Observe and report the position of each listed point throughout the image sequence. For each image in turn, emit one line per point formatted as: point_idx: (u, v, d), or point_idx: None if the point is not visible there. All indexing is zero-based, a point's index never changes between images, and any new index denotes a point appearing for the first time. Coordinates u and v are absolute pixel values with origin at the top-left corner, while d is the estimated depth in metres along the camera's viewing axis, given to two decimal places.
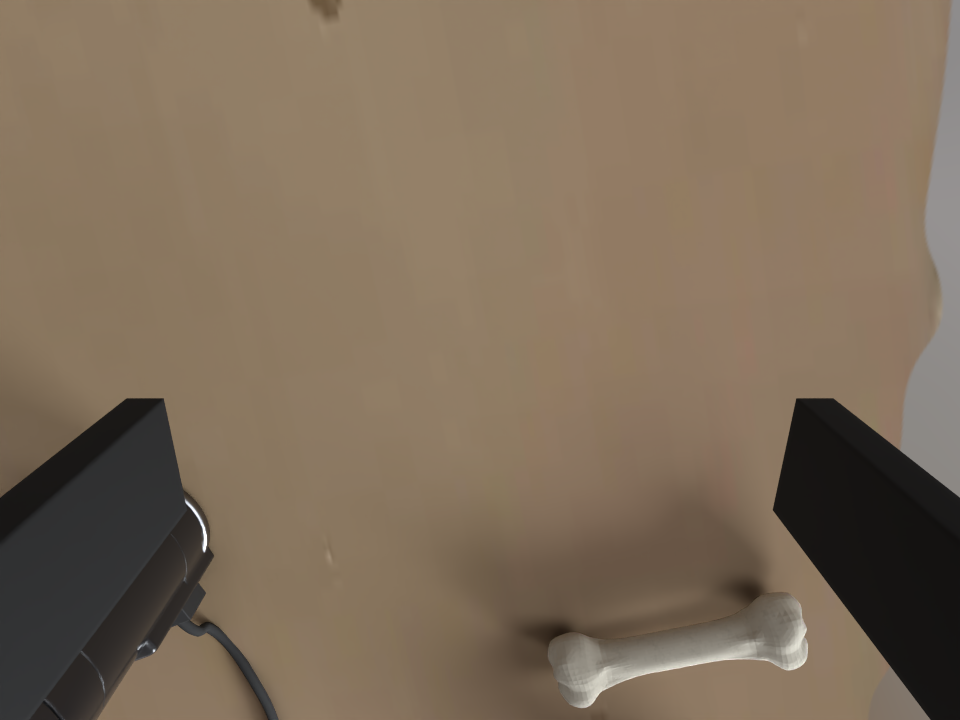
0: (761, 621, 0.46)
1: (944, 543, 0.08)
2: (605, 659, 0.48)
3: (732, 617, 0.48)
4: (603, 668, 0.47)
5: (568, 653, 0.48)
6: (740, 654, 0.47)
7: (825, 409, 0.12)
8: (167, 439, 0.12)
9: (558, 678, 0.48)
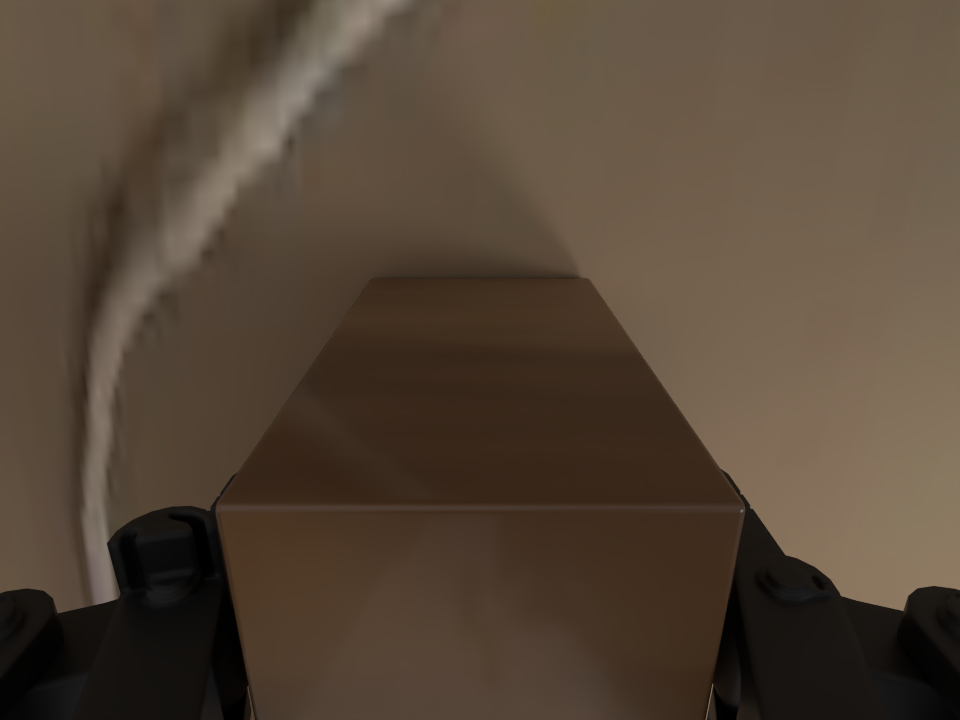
0: None
1: None
2: None
3: None
4: None
5: None
6: None
7: None
8: None
9: None
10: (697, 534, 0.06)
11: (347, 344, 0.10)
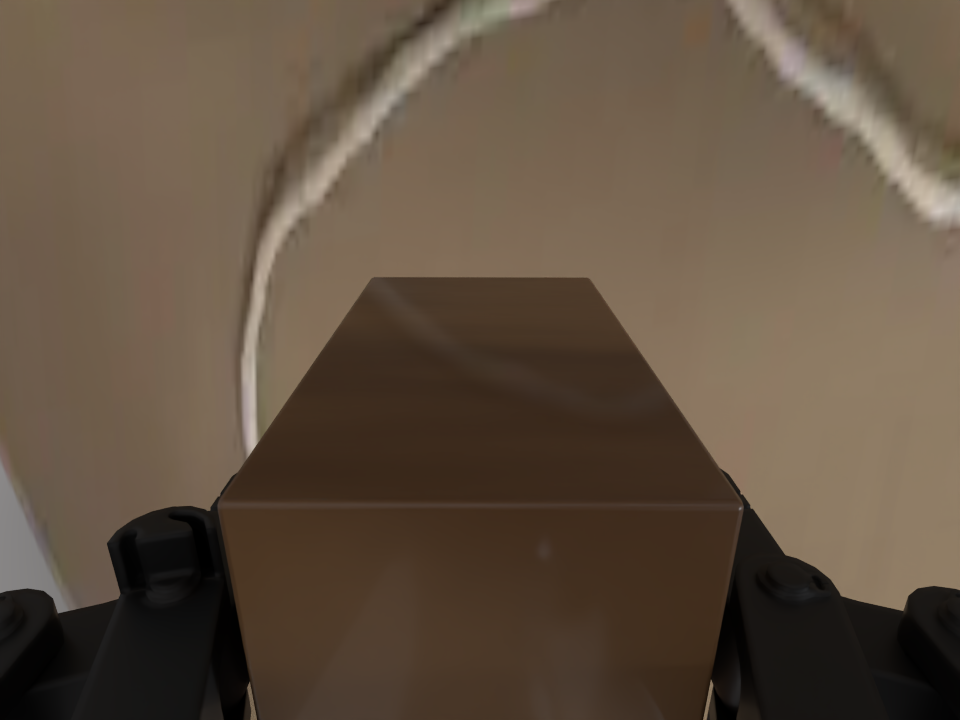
0: None
1: None
2: None
3: None
4: None
5: None
6: None
7: None
8: None
9: None
10: (697, 531, 0.06)
11: (348, 342, 0.10)
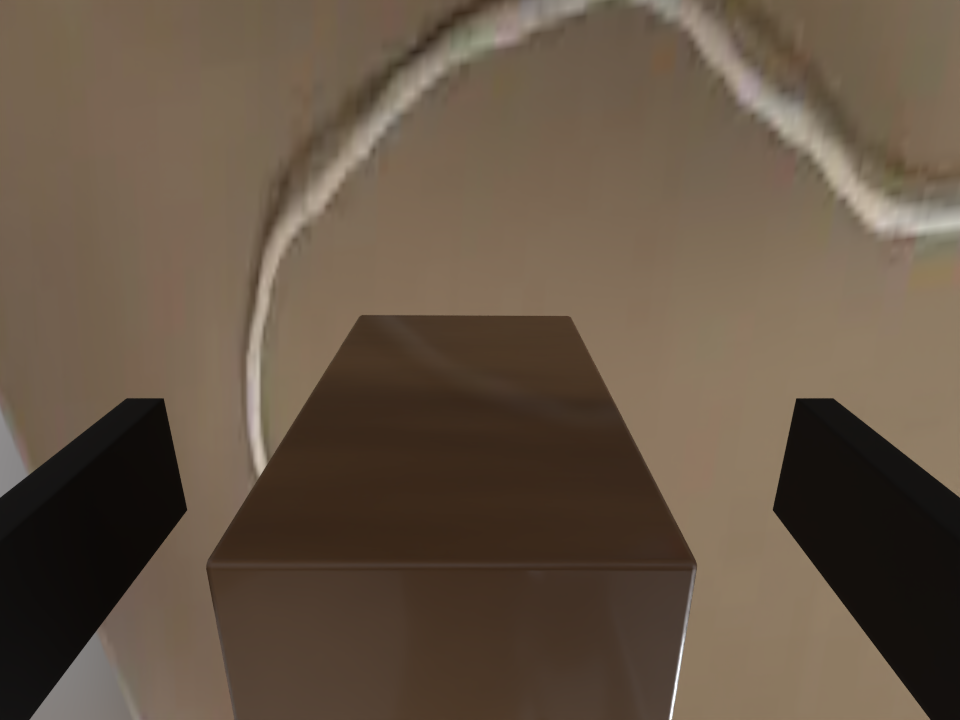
0: None
1: (944, 543, 0.08)
2: None
3: None
4: None
5: None
6: None
7: (825, 409, 0.12)
8: (167, 439, 0.12)
9: None
10: (654, 589, 0.06)
11: (334, 389, 0.10)
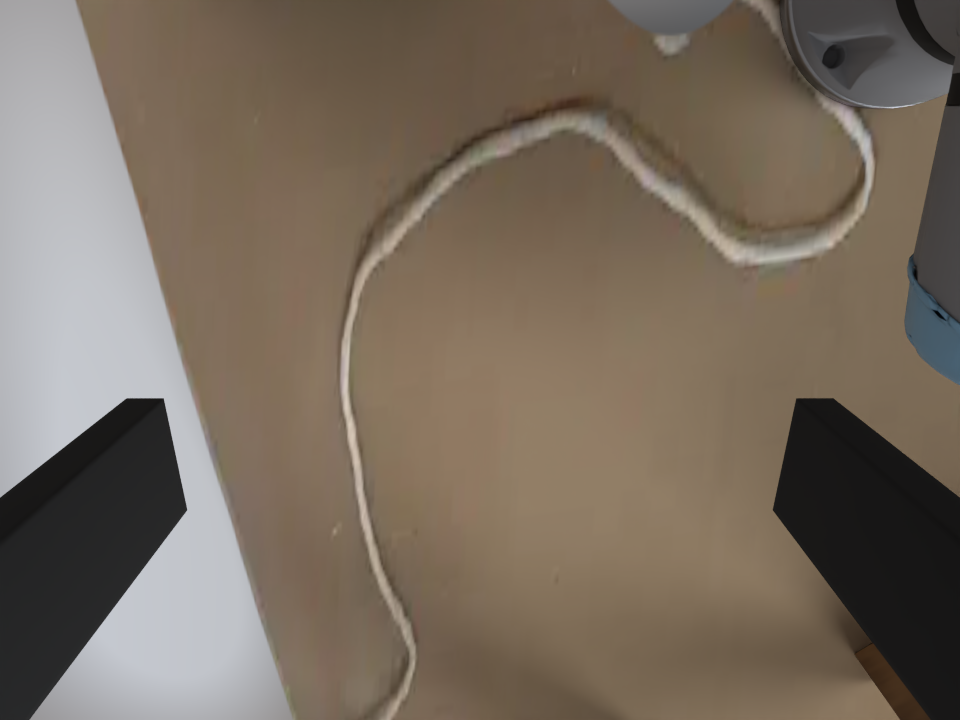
0: None
1: (944, 543, 0.08)
2: None
3: None
4: None
5: None
6: None
7: (825, 409, 0.12)
8: (167, 439, 0.12)
9: None
10: None
11: None
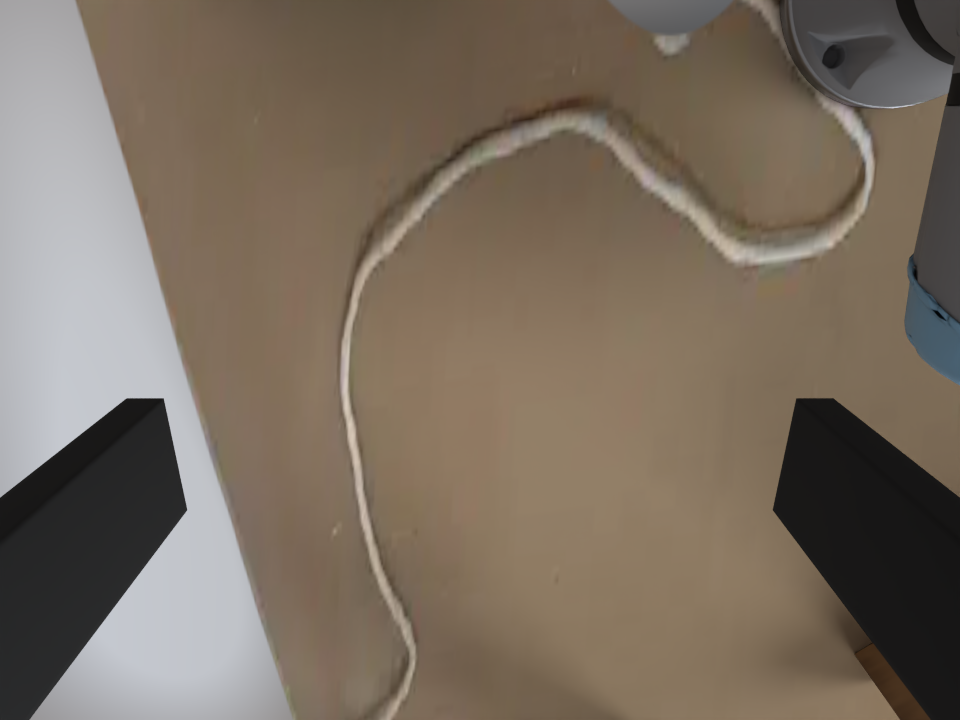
0: None
1: (944, 543, 0.08)
2: None
3: None
4: None
5: None
6: None
7: (825, 409, 0.12)
8: (167, 439, 0.12)
9: None
10: None
11: None
